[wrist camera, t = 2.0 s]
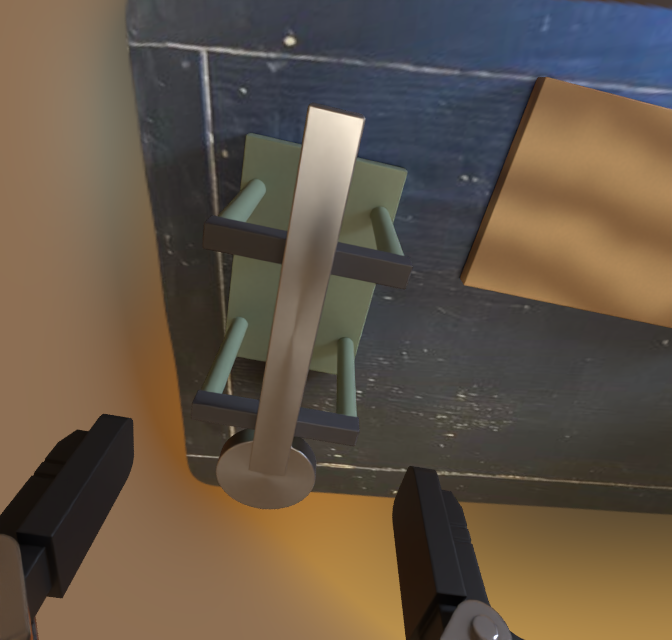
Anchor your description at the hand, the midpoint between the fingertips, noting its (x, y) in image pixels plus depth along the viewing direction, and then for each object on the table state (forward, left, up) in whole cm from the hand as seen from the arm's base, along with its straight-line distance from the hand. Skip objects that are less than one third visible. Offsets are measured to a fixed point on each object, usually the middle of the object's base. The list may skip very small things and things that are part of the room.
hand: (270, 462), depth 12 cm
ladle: (+3, 0, -10) cm, 11 cm away
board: (-6, +22, -20) cm, 30 cm away
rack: (+2, 0, -20) cm, 20 cm away
